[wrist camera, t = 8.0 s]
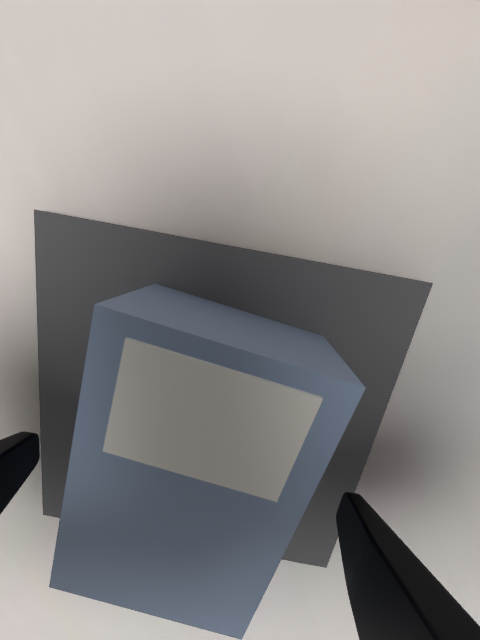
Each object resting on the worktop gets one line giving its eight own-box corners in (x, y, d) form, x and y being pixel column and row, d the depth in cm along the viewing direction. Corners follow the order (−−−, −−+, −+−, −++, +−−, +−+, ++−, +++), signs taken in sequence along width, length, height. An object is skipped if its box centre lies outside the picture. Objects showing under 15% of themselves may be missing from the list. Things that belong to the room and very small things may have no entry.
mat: (424, 281, 9) (432, 283, 8) (323, 557, 12) (326, 567, 12) (43, 211, 9) (33, 209, 8) (49, 506, 12) (42, 514, 12)
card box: (245, 523, 11) (241, 644, 8) (111, 485, 11) (46, 591, 8) (323, 336, 9) (367, 390, 5) (155, 283, 9) (91, 305, 5)
